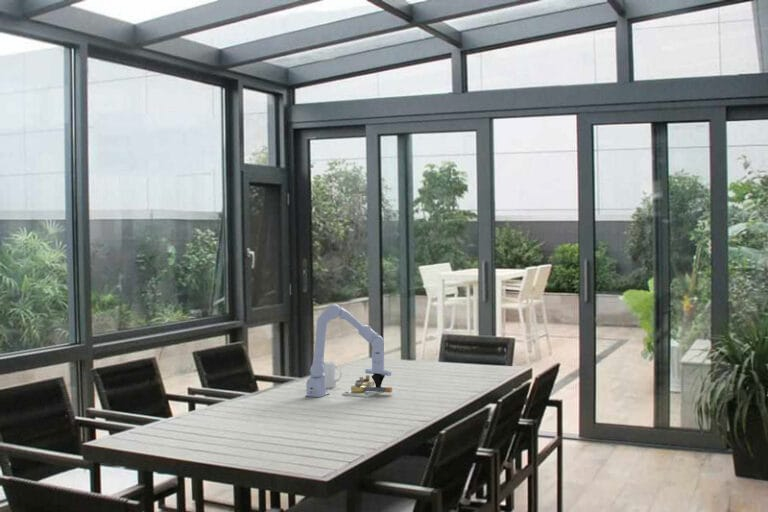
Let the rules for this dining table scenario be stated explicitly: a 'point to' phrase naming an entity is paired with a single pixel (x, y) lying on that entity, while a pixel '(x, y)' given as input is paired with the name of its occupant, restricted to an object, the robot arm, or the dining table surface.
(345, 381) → the dining table surface
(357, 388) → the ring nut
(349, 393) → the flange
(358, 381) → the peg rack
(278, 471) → the dining table surface
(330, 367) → the mug
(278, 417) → the dining table surface
